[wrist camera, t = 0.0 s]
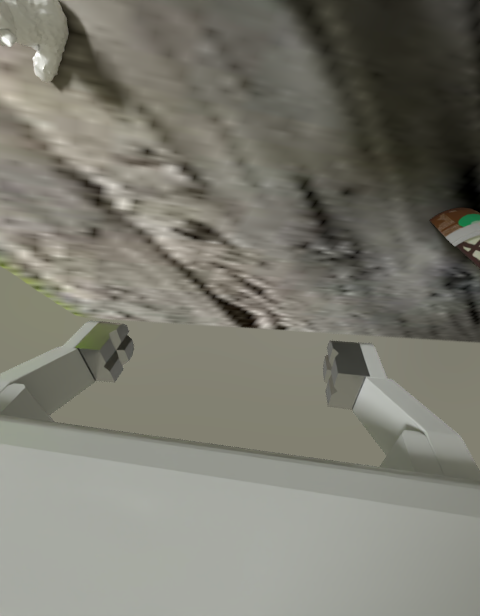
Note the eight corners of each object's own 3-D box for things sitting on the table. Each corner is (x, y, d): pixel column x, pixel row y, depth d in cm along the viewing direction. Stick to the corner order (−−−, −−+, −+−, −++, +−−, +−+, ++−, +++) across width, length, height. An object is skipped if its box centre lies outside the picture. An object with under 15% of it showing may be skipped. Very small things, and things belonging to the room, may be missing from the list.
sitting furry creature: (-10, -10, 32) (-123, -43, 23) (36, -55, 29) (-72, -110, 20) (49, 84, 38) (-24, 86, 29) (93, 55, 35) (27, 48, 26)
